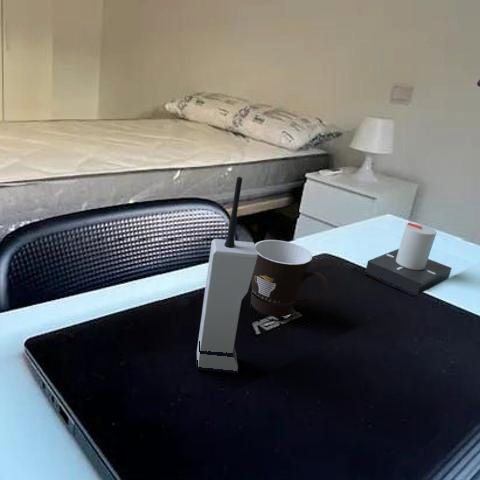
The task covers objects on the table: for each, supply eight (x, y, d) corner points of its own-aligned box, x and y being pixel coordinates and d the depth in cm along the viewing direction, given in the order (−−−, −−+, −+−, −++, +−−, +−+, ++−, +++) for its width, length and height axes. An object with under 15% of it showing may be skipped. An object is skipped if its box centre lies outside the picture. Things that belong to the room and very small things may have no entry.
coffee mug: (233, 299, 80) (242, 242, 76) (277, 292, 84) (288, 237, 80) (275, 339, 71) (288, 277, 67) (323, 330, 74) (338, 270, 70)
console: (447, 282, 93) (452, 267, 92) (416, 298, 86) (421, 282, 85) (396, 261, 100) (400, 247, 99) (364, 274, 93) (368, 259, 92)
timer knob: (429, 266, 92) (442, 229, 89) (416, 272, 89) (429, 234, 86) (403, 256, 95) (414, 220, 92) (390, 261, 92) (401, 224, 89)
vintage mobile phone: (236, 375, 62) (270, 184, 53) (197, 371, 62) (223, 179, 53) (234, 357, 66) (265, 174, 56) (196, 354, 66) (221, 170, 56)
